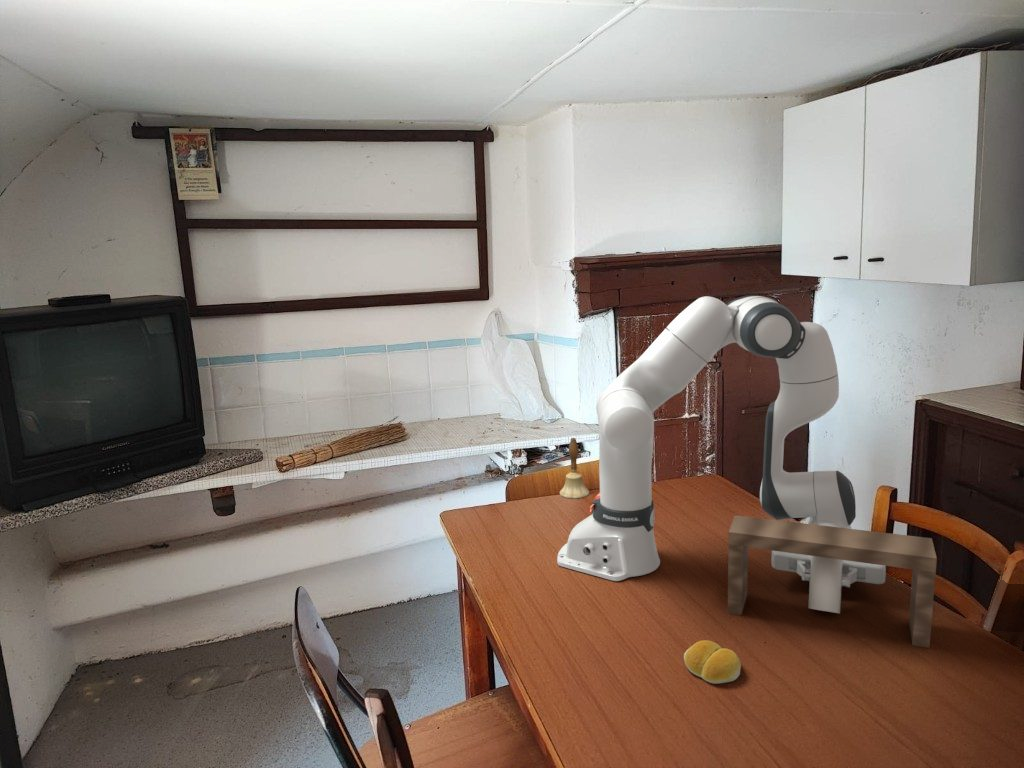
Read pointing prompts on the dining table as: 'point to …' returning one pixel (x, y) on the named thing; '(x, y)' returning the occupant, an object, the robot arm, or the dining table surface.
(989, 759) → the dining table surface
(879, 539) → the arch
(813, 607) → the white cylinder
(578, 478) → the hand bell
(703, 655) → the bread roll
